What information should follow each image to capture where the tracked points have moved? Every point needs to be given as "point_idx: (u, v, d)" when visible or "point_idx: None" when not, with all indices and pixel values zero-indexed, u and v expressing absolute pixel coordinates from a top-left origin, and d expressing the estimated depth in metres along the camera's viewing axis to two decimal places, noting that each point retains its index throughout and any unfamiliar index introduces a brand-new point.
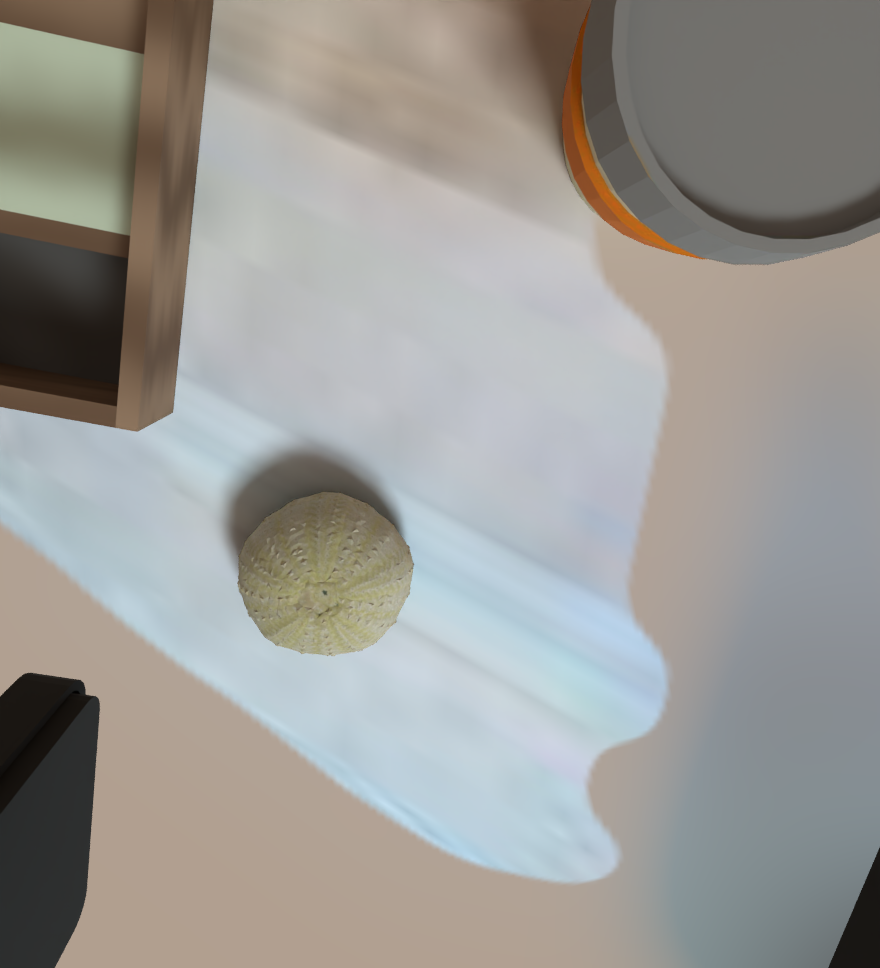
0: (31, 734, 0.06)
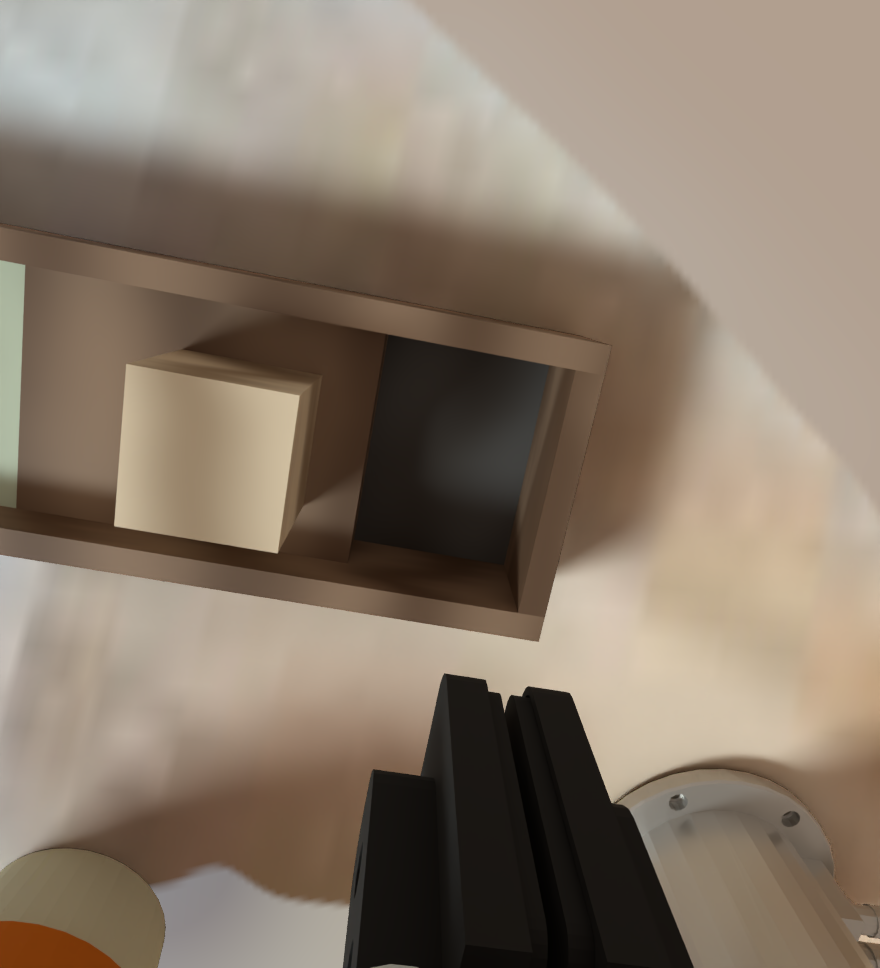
0: (489, 723, 0.08)
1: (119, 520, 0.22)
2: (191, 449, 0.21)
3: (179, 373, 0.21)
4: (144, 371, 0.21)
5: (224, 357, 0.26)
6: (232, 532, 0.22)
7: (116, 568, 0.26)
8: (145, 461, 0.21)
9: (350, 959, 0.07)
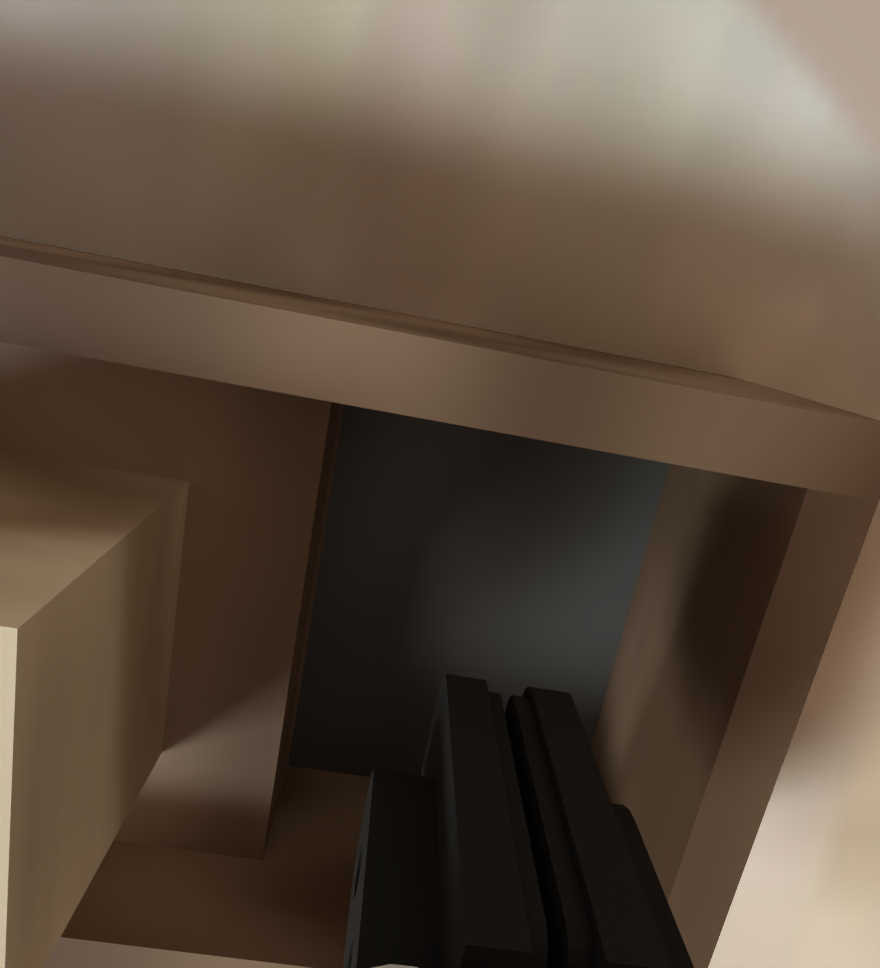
0: (490, 724, 0.08)
1: None
2: None
3: None
4: None
5: None
6: None
7: None
8: None
9: (350, 959, 0.07)
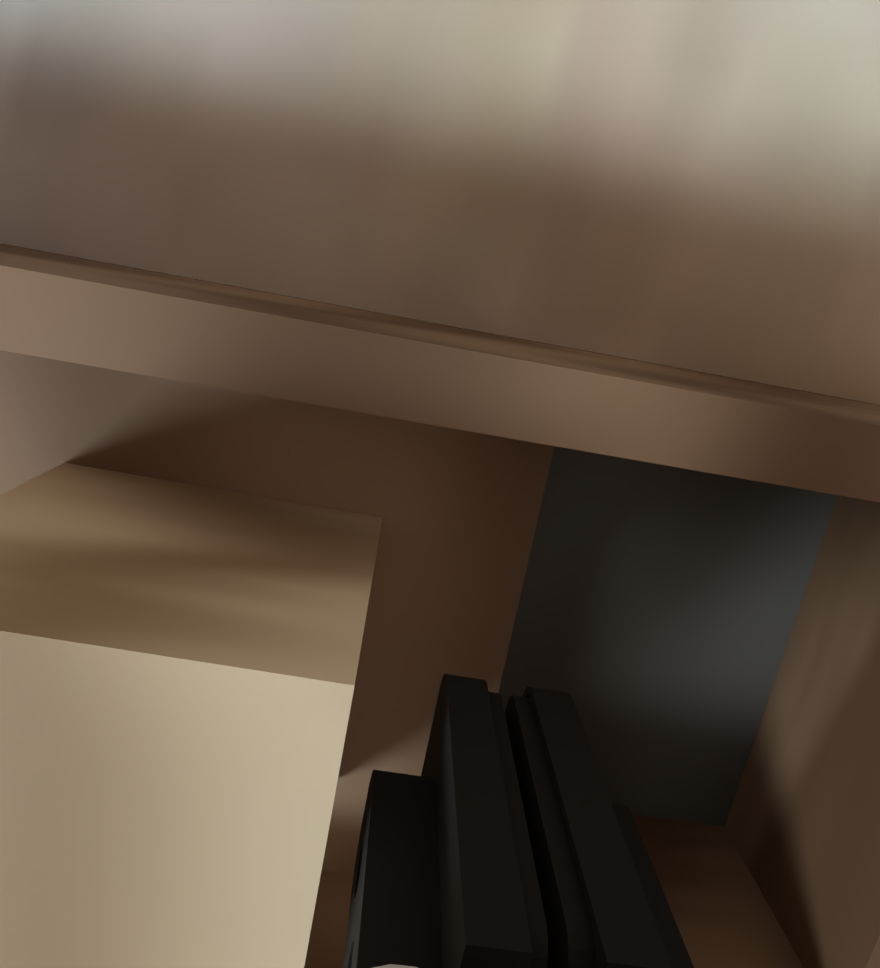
0: (490, 724, 0.08)
1: None
2: (24, 833, 0.07)
3: None
4: None
5: (161, 481, 0.11)
6: None
7: None
8: None
9: (350, 959, 0.07)
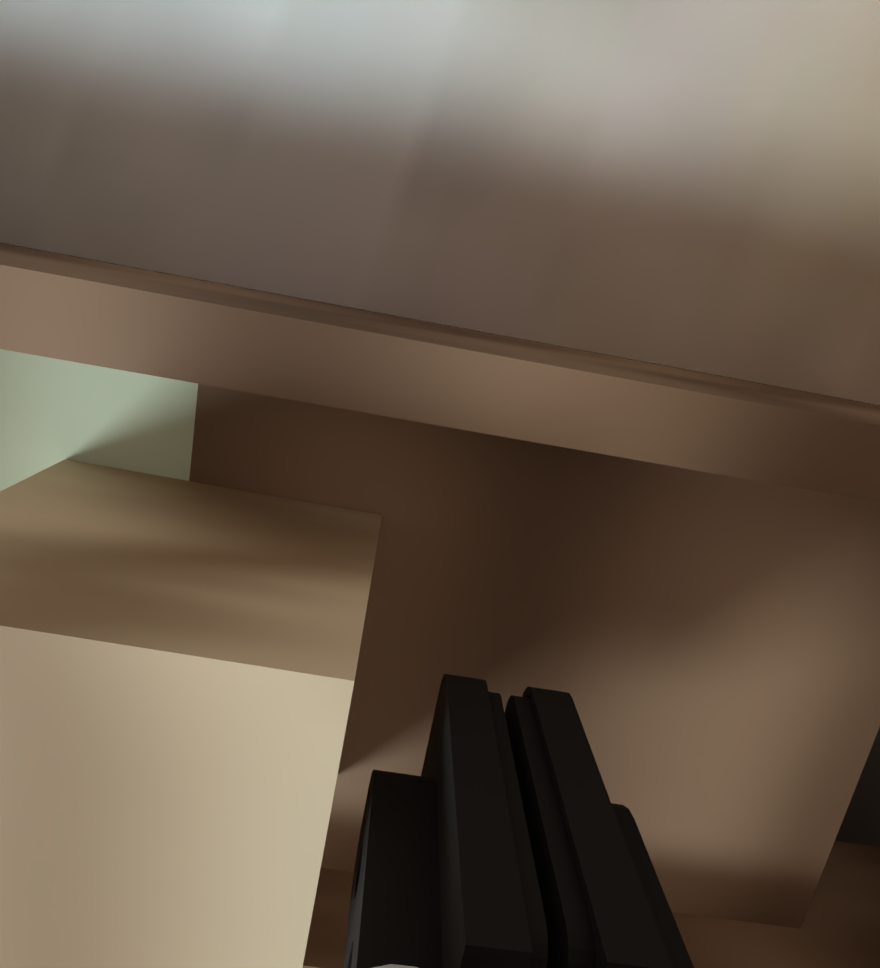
0: (490, 723, 0.08)
1: None
2: (25, 826, 0.07)
3: None
4: None
5: (161, 478, 0.11)
6: None
7: None
8: None
9: (350, 959, 0.07)
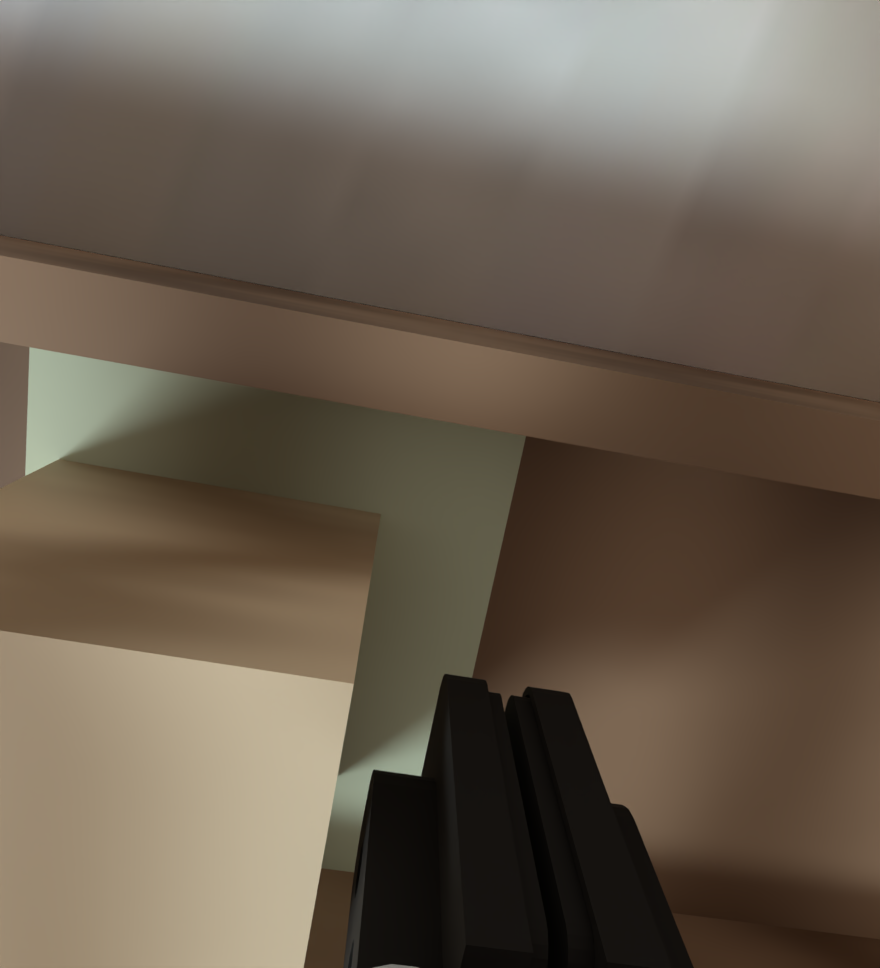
0: (490, 724, 0.08)
1: None
2: (18, 833, 0.07)
3: None
4: None
5: (157, 477, 0.11)
6: None
7: None
8: None
9: (350, 959, 0.07)
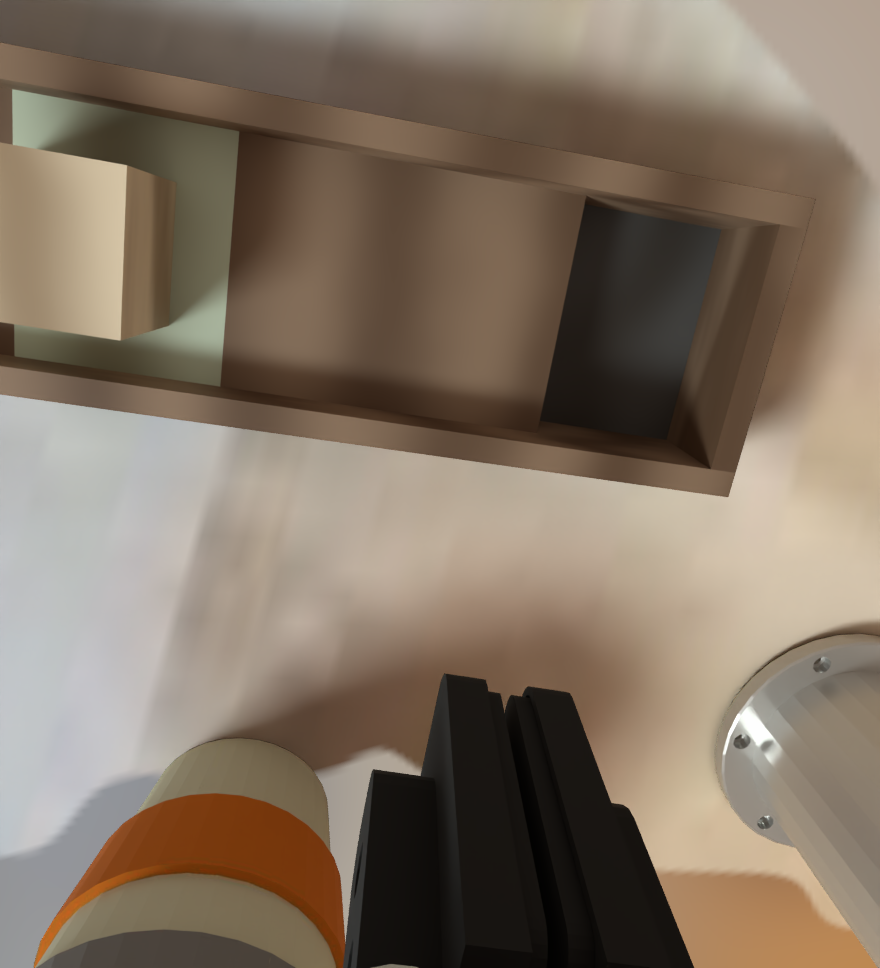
0: (490, 723, 0.08)
1: None
2: (19, 226, 0.21)
3: None
4: None
5: None
6: (71, 318, 0.22)
7: (332, 436, 0.26)
8: None
9: (350, 959, 0.07)
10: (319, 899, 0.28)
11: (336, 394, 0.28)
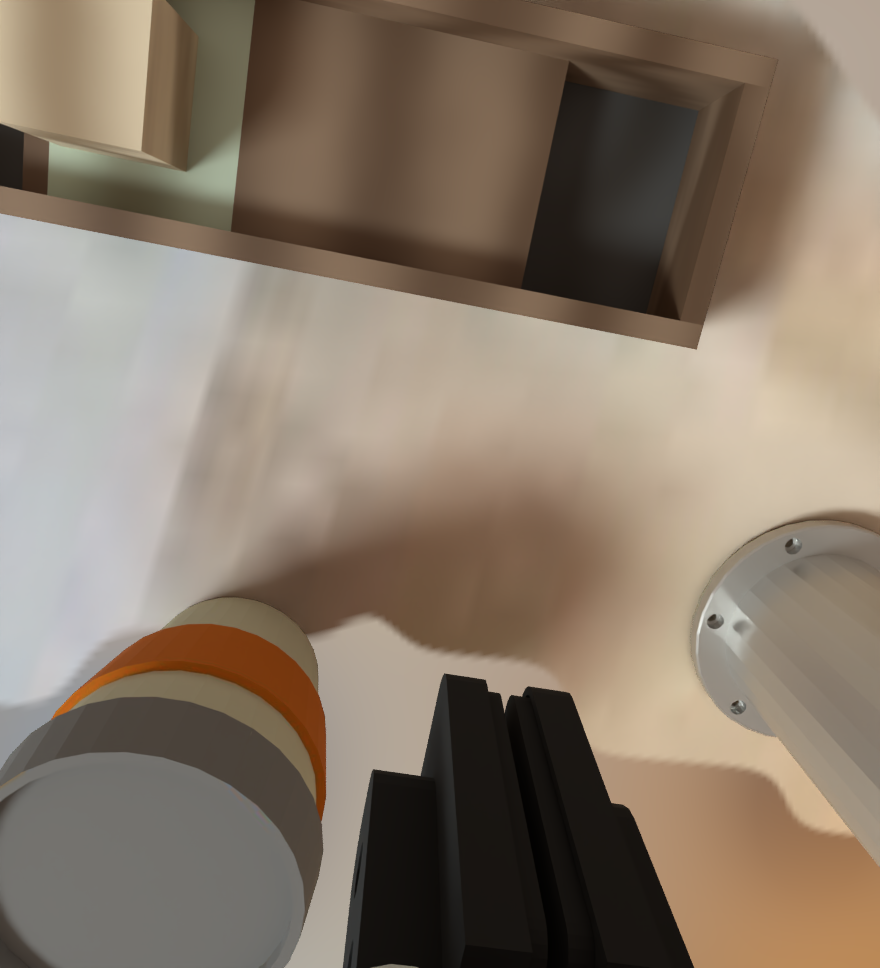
0: (490, 723, 0.08)
1: None
2: (57, 40, 0.24)
3: None
4: None
5: None
6: (99, 128, 0.24)
7: (330, 272, 0.29)
8: (16, 52, 0.24)
9: (350, 959, 0.07)
10: (302, 713, 0.30)
11: (336, 244, 0.30)
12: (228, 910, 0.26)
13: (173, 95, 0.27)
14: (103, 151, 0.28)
